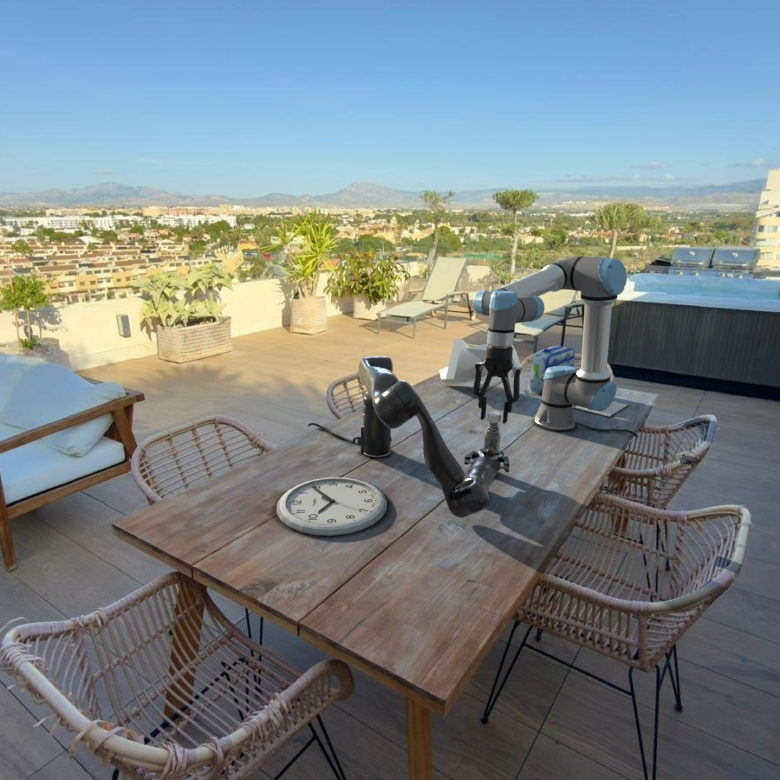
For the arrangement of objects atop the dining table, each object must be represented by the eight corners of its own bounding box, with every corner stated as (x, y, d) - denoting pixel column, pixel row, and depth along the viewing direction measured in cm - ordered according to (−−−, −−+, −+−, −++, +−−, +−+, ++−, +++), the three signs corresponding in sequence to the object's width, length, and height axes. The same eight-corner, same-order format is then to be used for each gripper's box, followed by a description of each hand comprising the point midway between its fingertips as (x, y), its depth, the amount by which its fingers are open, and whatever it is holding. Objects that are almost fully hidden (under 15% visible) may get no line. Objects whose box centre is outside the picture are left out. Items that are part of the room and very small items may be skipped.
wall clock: (392, 527, 129) (268, 531, 127) (391, 533, 130) (269, 537, 127) (383, 473, 158) (282, 475, 155) (383, 478, 158) (282, 480, 156)
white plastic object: (461, 429, 252) (437, 405, 227) (444, 352, 274) (420, 323, 250) (535, 404, 240) (518, 377, 215) (510, 326, 262) (492, 293, 237)
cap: (484, 420, 158) (485, 413, 157) (491, 417, 161) (491, 410, 160) (496, 423, 156) (497, 416, 155) (502, 420, 159) (503, 413, 158)
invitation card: (608, 416, 214) (573, 407, 224) (608, 416, 214) (573, 408, 224) (628, 404, 229) (594, 396, 238) (628, 405, 229) (594, 397, 238)
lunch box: (546, 399, 235) (551, 353, 228) (525, 393, 242) (530, 349, 236) (574, 387, 252) (579, 345, 246) (553, 383, 260) (558, 341, 253)
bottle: (498, 476, 161) (503, 418, 156) (483, 476, 161) (487, 418, 156) (495, 469, 166) (500, 413, 160) (480, 469, 166) (485, 413, 160)
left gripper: (507, 466, 145) (516, 444, 160) (457, 457, 150) (471, 437, 165) (505, 490, 148) (514, 466, 163) (456, 481, 152) (469, 458, 168)
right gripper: (535, 346, 151) (528, 421, 157) (472, 339, 158) (467, 411, 165) (530, 351, 144) (522, 429, 151) (464, 344, 152) (459, 418, 159)
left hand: (492, 451), depth 164 cm, fingers closed on bottle, 4 cm apart
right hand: (493, 420), depth 158 cm, fingers open, 6 cm apart
